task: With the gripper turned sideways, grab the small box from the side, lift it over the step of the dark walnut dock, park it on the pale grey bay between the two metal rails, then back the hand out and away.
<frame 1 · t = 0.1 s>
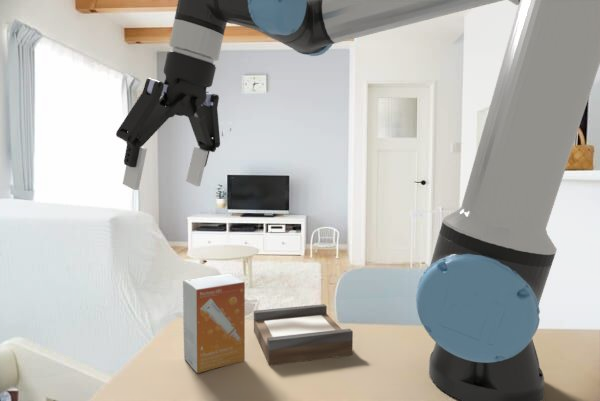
hand: (164, 185, 70), 28 cm above the table, tool tilted 20°, fingers open, 13 cm apart
small box: (214, 361, 68), on the table
dock: (299, 342, 74), on the table
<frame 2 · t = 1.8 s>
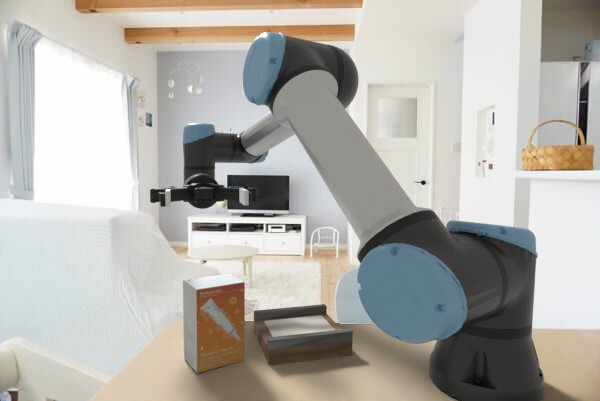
hand: (208, 198, 74), 25 cm above the table, tool horizontal, fingers open, 13 cm apart
nothing on the table moved.
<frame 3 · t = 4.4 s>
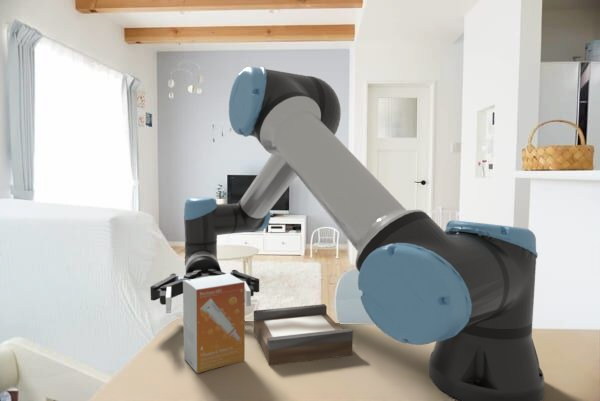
hand: (209, 301, 73), 8 cm above the table, tool horizontal, fingers open, 13 cm apart
nothing on the table moved.
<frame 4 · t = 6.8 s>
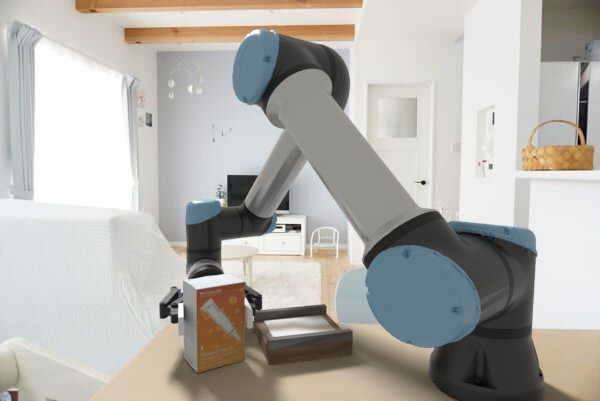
hand: (216, 322, 62), 8 cm above the table, tool horizontal, fingers closed on small box, 9 cm apart
small box: (214, 360, 68), on the table, touching gripper
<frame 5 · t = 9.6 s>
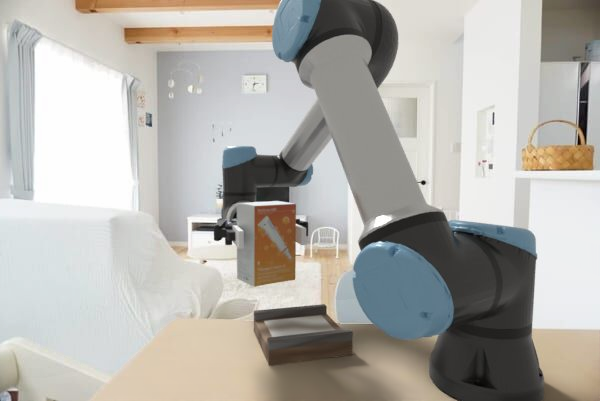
hand: (273, 238, 66), 20 cm above the table, tool horizontal, fingers closed on small box, 9 cm apart
small box: (266, 280, 71), point 12 cm above the table, touching gripper
when the fingers open (12 cm above the table, at t = 12.4 s): small box drops 1 cm, resting on dock.
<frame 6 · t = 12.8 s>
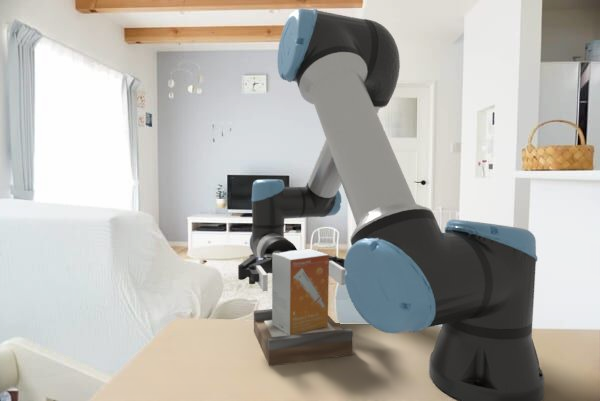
hand: (305, 280, 70), 12 cm above the table, tool horizontal, fingers open, 13 cm apart
small box: (300, 327, 74), point 3 cm above the table, touching dock
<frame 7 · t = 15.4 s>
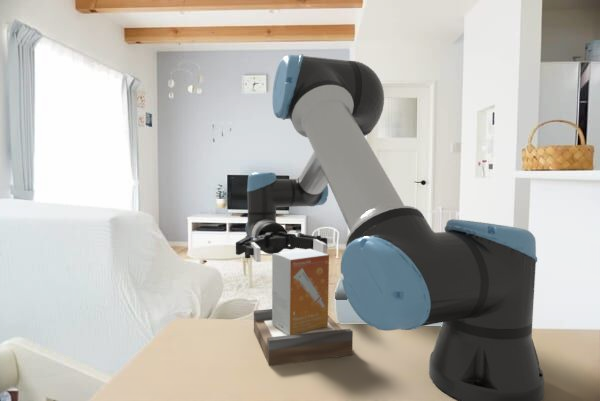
hand: (292, 252, 83), 14 cm above the table, tool horizontal, fingers open, 13 cm apart
nothing on the table moved.
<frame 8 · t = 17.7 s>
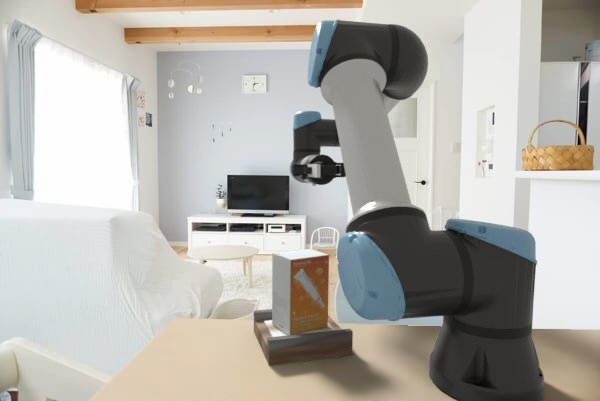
hand: (350, 170, 87), 30 cm above the table, tool horizontal, fingers open, 13 cm apart
nothing on the table moved.
at the end: small box inside the target area on the dock (0.4 cm from its centre), point 2.6 cm above the dock's base; small box tilted 0°; the gripper is holding nothing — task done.
